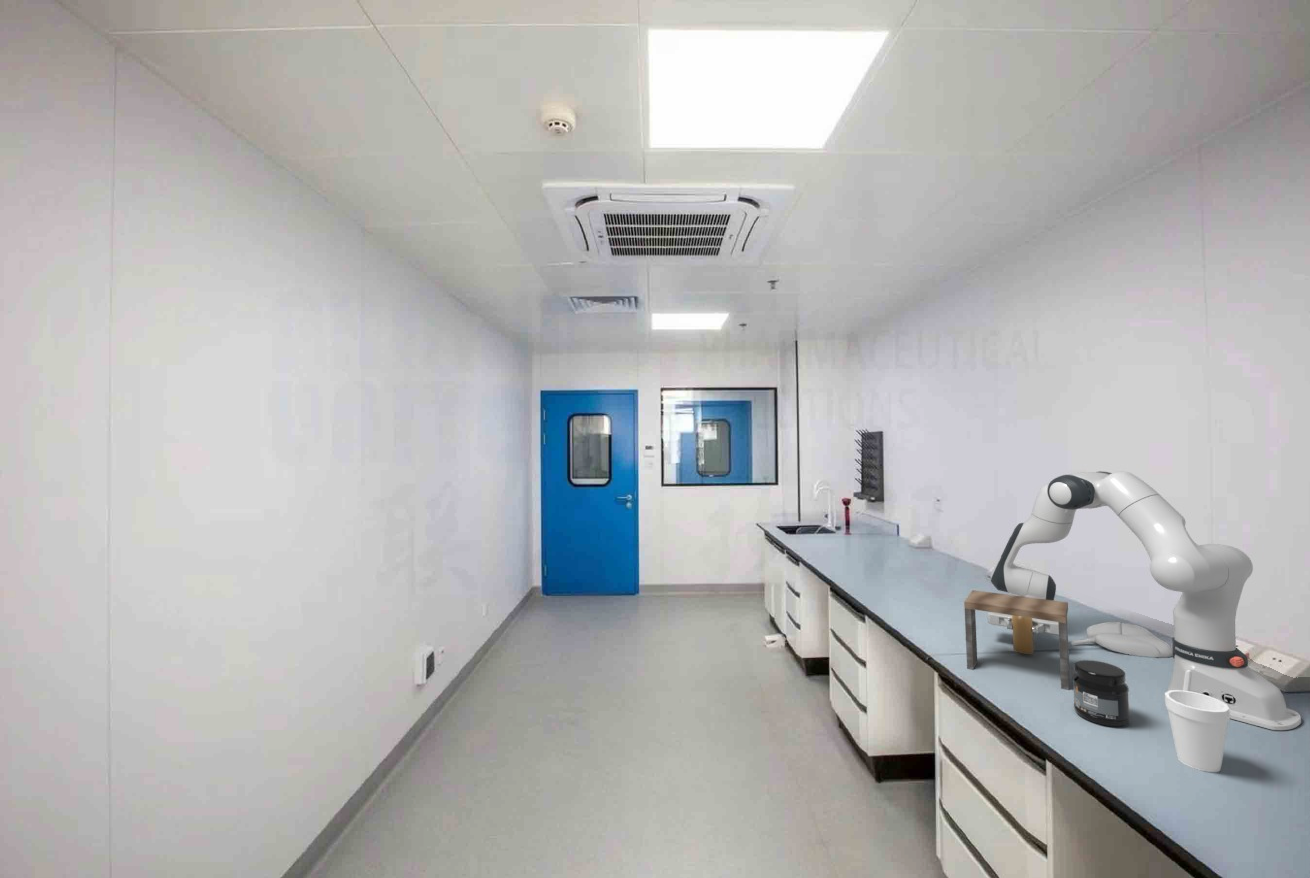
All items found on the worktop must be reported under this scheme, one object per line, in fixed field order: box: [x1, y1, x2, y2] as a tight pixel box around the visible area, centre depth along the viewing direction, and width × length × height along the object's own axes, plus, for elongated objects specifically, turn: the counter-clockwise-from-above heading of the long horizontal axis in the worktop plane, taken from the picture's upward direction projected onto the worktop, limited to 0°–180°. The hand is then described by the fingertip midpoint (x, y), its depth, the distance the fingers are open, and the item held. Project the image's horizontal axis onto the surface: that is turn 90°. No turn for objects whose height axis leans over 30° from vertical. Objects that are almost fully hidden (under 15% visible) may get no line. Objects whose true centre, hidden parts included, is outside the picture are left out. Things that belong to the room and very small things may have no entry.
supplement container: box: [1072, 659, 1131, 727], centre depth 130 cm, size 10×10×12 cm
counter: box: [963, 589, 1071, 691], centre depth 157 cm, size 24×14×20 cm, turn 50°
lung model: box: [1069, 621, 1173, 659], centre depth 171 cm, size 7×17×25 cm
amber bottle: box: [1012, 615, 1035, 655], centre depth 167 cm, size 5×5×14 cm
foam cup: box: [1164, 690, 1231, 773], centre depth 111 cm, size 10×9×13 cm
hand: (1022, 628), depth 167 cm, fingers closed on amber bottle, 5 cm apart
